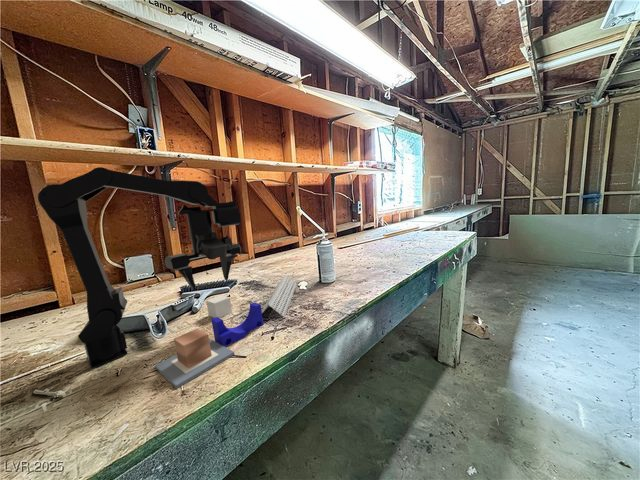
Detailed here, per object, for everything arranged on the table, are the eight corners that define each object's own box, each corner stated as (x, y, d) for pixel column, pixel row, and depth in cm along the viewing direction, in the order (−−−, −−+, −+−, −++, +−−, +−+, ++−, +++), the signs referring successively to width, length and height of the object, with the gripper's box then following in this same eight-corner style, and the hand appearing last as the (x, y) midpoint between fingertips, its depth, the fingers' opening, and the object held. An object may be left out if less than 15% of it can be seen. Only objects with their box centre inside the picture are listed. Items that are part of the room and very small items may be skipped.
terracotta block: (188, 368, 51) (183, 345, 50) (177, 360, 54) (173, 338, 53) (211, 355, 54) (208, 334, 54) (200, 348, 57) (197, 328, 57)
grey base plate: (176, 388, 46) (176, 385, 46) (155, 367, 53) (154, 364, 53) (234, 354, 55) (234, 351, 55) (209, 340, 62) (209, 337, 62)
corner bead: (276, 287, 100) (274, 275, 100) (298, 285, 100) (296, 273, 99) (255, 321, 72) (252, 305, 71) (286, 319, 71) (284, 302, 71)
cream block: (217, 319, 74) (214, 303, 73) (208, 315, 77) (206, 300, 77) (232, 312, 78) (229, 297, 77) (223, 309, 81) (221, 294, 80)
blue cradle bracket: (223, 348, 58) (219, 324, 58) (215, 342, 62) (211, 319, 61) (266, 327, 67) (263, 305, 66) (257, 322, 70) (254, 302, 69)
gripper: (175, 236, 56) (188, 302, 58) (247, 224, 69) (255, 278, 72) (158, 235, 63) (170, 294, 65) (227, 224, 77) (235, 274, 79)
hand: (211, 284), depth 70 cm, fingers open, 9 cm apart
